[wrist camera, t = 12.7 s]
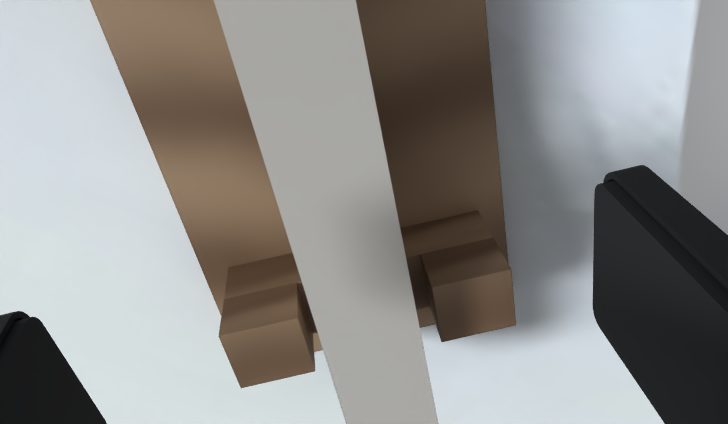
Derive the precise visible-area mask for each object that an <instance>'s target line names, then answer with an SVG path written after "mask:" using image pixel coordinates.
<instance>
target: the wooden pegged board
mask: <svg viewBox="0 0 728 424" xmlns="http://www.w3.org/2000/svg"><path fill="white" fill-rule="evenodd" d="M90 1H91V4H92V6H93V9H94V11H95V14H96V16H97V18H98V21H99V23H100V26H101V28H102V30H103V33H104V35H105V38H106V40H107V42H108V45H109V47H110V50H111V52H112V54H113V57H114V59H115V62H116V64H117V66H118V69H119V71H120V74H121V76H122V78H123V81H124V83H125V86H126V88H127V90H128V93H129V95H130V98H131V100H132V102H133V105H134V107H135V110H136V112H137V114H138V117H139V119H140V122H141V124H142V127H143V129H144V131H145V134H146V136H147V139H148V141H149V143H150V146H151V148H152V151H153V153H154V155H155V158H156V160H157V163H158V165H159V167H160V170H161V172H162V175H163V177H164V179H165V182H166V184H167V187H168V189H169V191H170V194H171V196H172V199H173V201H174V203H175V206H176V208H177V211H178V213H179V215H180V218H181V220H182V223H183V225H184V227H185V230H186V232H187V235H188V237H189V239H190V242H191V244H192V247H193V249H194V252H195V254H196V256H197V259H198V261H199V264H200V266H201V268H202V271H203V273H204V276H205V278H206V280H207V283H208V285H209V288H210V290H211V292H212V295H213V297H214V300H215V302H216V304H217V307H218V309H219V312H220V314H221V316H222V317H221V324H220V331H219V338H220V340H221V343H222V345H223V347H224V350H225V352H226V354H227V357H228V359H229V361H230V364H231V366H232V368H233V371H234V373H235V375H236V378H237V380H238V382H239V385H240V387H241V388H244V387H248V386H253V385H257V384H261V383H266V382H270V381H274V380H279V379H283V378H287V377H292V376H296V375H301V374H305V373H309V372H314V371H315V359H314V352H316V351H321V350H323V348H322V345H321V342H320V338H319V335H318V332H317V329H316V326H315V322H314V319H313V316H312V313H311V310H310V306H309V303H308V300H307V297H306V294H305V290H304V287H303V284H302V281H301V278H300V274H299V271H298V268H297V265H296V262H295V259H294V255H293V252H292V249H291V246H290V243H289V239H288V236H287V233H286V230H285V227H284V223H283V220H282V217H281V214H280V211H279V207H278V204H277V201H276V198H275V195H274V191H273V188H272V185H271V182H270V179H269V176H268V172H267V169H266V166H265V163H264V160H263V156H262V153H261V150H260V147H259V144H258V140H257V137H256V134H255V131H254V128H253V124H252V121H251V118H250V115H249V112H248V108H247V105H246V102H245V99H244V96H243V93H242V89H241V86H240V83H239V80H238V77H237V73H236V70H235V67H234V64H233V61H232V57H231V54H230V51H229V48H228V45H227V41H226V38H225V35H224V32H223V29H222V25H221V22H220V19H219V16H218V13H217V9H216V6H215V3H214V0H90ZM356 4H357V10H358V15H359V20H360V25H361V30H362V35H363V40H364V45H365V51H366V56H367V61H368V66H369V71H370V76H371V81H372V86H373V91H374V97H375V102H376V107H377V112H378V117H379V122H380V127H381V132H382V138H383V143H384V148H385V153H386V158H387V163H388V168H389V173H390V178H391V184H392V189H393V194H394V199H395V204H396V209H397V214H398V219H399V225H400V230H401V235H402V240H403V245H404V250H405V255H406V260H407V265H408V271H409V276H410V281H411V286H412V291H413V296H414V301H415V306H416V311H417V317H418V322H419V327H420V328H421V327H425V326H430V325H434V324H436V326H437V329H438V332H439V335H440V338H441V341H442V342H445V341H449V340H453V339H458V338H462V337H466V336H471V335H475V334H480V333H484V332H488V331H493V330H497V329H501V328H506V327H510V326H514V325H516V319H515V308H514V296H513V284H512V273H511V268H510V266H509V264H508V256H507V245H506V233H505V222H504V211H503V200H502V188H501V177H500V166H499V154H498V143H497V132H496V121H495V109H494V98H493V87H492V75H491V64H490V53H489V42H488V30H487V19H486V8H485V0H356Z"/></svg>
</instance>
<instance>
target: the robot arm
mask: <svg viewBox="0 0 728 424" xmlns="http://www.w3.org/2000/svg"><path fill="white" fill-rule="evenodd" d="M593 311H594V316H595V319H596V321H597V324H598V326H599V327H600V329H601V330H602V332H603V333H604V335H605V336H606V338H607V339H608V341H609V342H610V344H611V345H612V347H613V348H614V349H615V351H616V352H617V354H618V355H619V357H620V358H621V360H622V361H623V363H624V364H625V366H626V367H627V369H628V370H629V372H630V373H631V374H632V376H633V377H634V379H635V380H636V382H637V383H638V385H639V386H640V388H641V389H642V391H643V392H644V394H645V395H646V397H647V398H648V399H649V401H650V402H651V404H652V405H653V407H654V408H655V410H656V411H657V413H658V414H659V416H660V417H661V419H662V420H663V422H664V423H665V424H728V235H727V234H726V233H724V232H723V231H722V230H721V229H720V228H718V227H717V226H716V225H715V224H714V223H713V222H711V221H710V220H709V219H708V218H707V217H706V216H704V215H703V214H702V213H701V212H700V211H698V210H697V209H696V208H695V207H694V206H693V205H691V204H690V203H689V202H688V201H687V200H686V199H684V198H683V197H682V196H681V195H680V194H679V193H677V192H676V191H675V190H674V189H673V188H671V187H670V186H669V185H668V184H667V183H666V182H664V181H663V180H662V179H661V178H660V177H659V176H657V175H656V174H655V173H654V172H653V171H652V170H650V169H649V168H648V167H646V166H644V165H640V166H635V167H631V168H627V169H623V170H618V171H614V172H610V173H608V174H607V175H606V176H605V178H604V183H601V184H598V185H597V186H596V188H595V198H594V261H593ZM0 424H107V423H106V421H105V419H104V418H103V416H102V415H101V413H100V412H99V410H98V409H97V407H96V405H95V404H94V402H93V401H92V399H91V398H90V396H89V395H88V393H87V392H86V390H85V388H84V387H83V385H82V384H81V382H80V381H79V379H78V378H77V376H76V375H75V373H74V371H73V370H72V368H71V367H70V365H69V364H68V362H67V361H66V359H65V358H64V356H63V354H62V353H61V351H60V350H59V348H58V347H57V345H56V344H55V342H54V341H53V339H52V337H51V336H50V334H49V333H48V331H47V330H46V328H45V327H44V325H43V324H42V322H41V321H40V320H39V319H38V318H36V317H29V316H28V315H27V314H26V313H24V312H20V311H17V312H12V313H8V314H4V315H0Z"/></svg>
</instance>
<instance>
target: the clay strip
mask: <svg viewBox="0 0 728 424" xmlns="http://www.w3.org/2000/svg"><path fill="white" fill-rule="evenodd" d="M214 3H215V6H216V9H217V13H218V16H219V19H220V22H221V25H222V29H223V32H224V35H225V38H226V41H227V45H228V48H229V51H230V54H231V57H232V61H233V64H234V67H235V70H236V73H237V77H238V80H239V83H240V86H241V89H242V93H243V96H244V99H245V102H246V105H247V108H248V112H249V115H250V118H251V121H252V124H253V128H254V131H255V134H256V137H257V140H258V144H259V147H260V150H261V153H262V156H263V160H264V163H265V166H266V169H267V172H268V176H269V179H270V182H271V185H272V188H273V191H274V195H275V198H276V201H277V204H278V207H279V211H280V214H281V217H282V220H283V223H284V227H285V230H286V233H287V236H288V239H289V243H290V246H291V249H292V252H293V255H294V259H295V262H296V265H297V268H298V271H299V274H300V278H301V281H302V284H303V287H304V290H305V294H306V297H307V300H308V303H309V306H310V310H311V313H312V316H313V319H314V322H315V326H316V329H317V332H318V335H319V338H320V342H321V345H322V348H323V351H324V354H325V358H326V361H327V364H328V367H329V370H330V373H331V377H332V380H333V383H334V386H335V389H336V393H337V396H338V399H339V402H340V405H341V409H342V412H343V415H344V418H345V421H346V424H438V419H437V414H436V409H435V404H434V398H433V393H432V388H431V383H430V378H429V373H428V368H427V363H426V358H425V352H424V347H423V342H422V337H421V332H420V327H419V322H418V317H417V311H416V306H415V301H414V296H413V291H412V286H411V281H410V276H409V271H408V265H407V260H406V255H405V250H404V245H403V240H402V235H401V230H400V225H399V219H398V214H397V209H396V204H395V199H394V194H393V189H392V184H391V178H390V173H389V168H388V163H387V158H386V153H385V148H384V143H383V138H382V132H381V127H380V122H379V117H378V112H377V107H376V102H375V97H374V91H373V86H372V81H371V76H370V71H369V66H368V61H367V56H366V51H365V45H364V40H363V35H362V30H361V25H360V20H359V15H358V10H357V4H356V0H214Z"/></svg>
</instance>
